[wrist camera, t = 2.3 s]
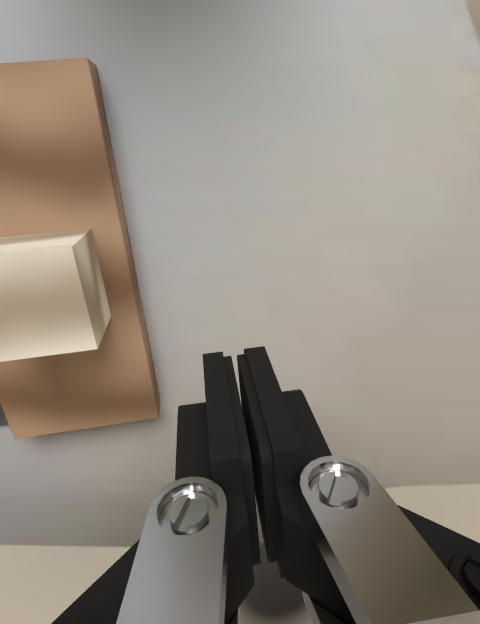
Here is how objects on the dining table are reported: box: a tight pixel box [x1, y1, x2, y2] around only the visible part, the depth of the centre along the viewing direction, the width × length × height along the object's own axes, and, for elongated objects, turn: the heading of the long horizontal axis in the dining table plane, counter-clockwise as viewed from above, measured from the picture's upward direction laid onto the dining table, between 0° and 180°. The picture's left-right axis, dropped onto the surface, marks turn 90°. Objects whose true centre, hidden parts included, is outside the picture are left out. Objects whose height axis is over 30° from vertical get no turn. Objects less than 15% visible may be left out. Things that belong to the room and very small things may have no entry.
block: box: [0, 229, 111, 362], centre depth 20 cm, size 5×5×4 cm
